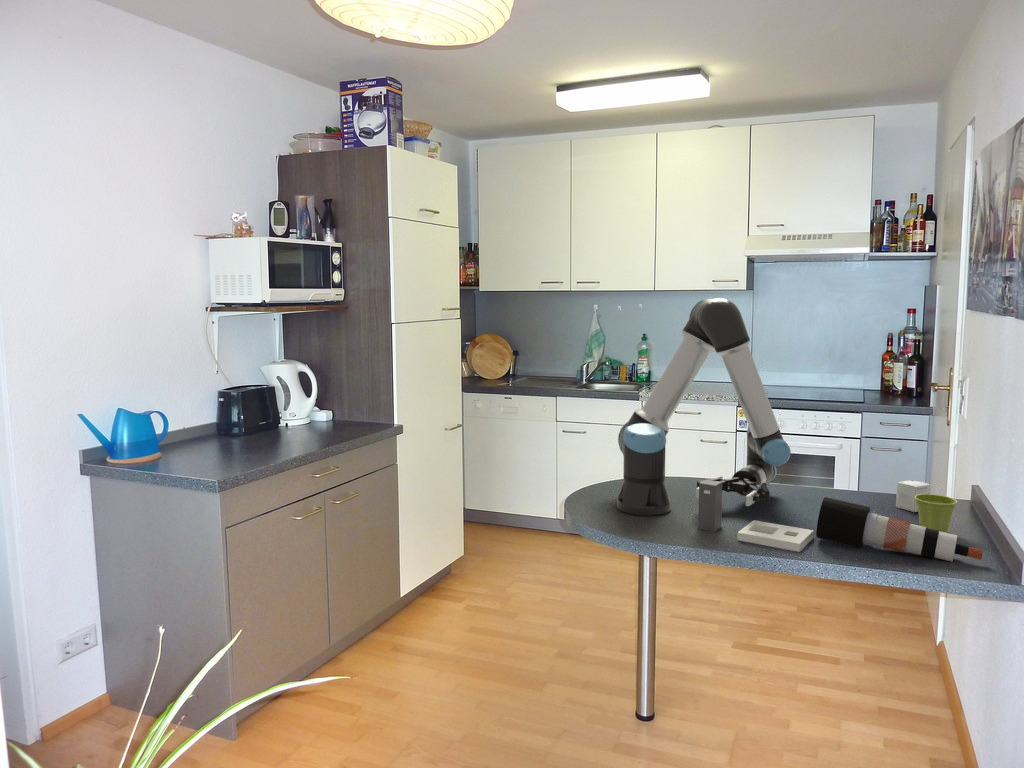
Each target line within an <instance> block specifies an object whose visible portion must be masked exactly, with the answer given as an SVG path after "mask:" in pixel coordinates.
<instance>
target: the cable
mask: <svg viewBox="0 0 1024 768" xmlns="http://www.w3.org/2000/svg"><path fill="white" fill-rule="evenodd" d="M820 505H821V506H820V508H819V513H818V519H817V524H816V533H815V534H816V538H817V539H821V540H825V541H830V542H833V543H837V544H840V545H844V546H845V545H846V546H849V547H854V548H858V549H861V548H862V549H863V547H864V545H868V546H874V547H875V546H876V547H880V548H883V549H888V550H893V551H897V552H900V553H901V552H902V553H910V554H913V555H918V556H925V557H929V558H933V559H940V560H943V561H948V562H953V561H954V557H955V555H958V556H962V557H969V558H972V559H976V560H980V561H981V560H982V559H983V553H984V549H980V548H976V547H974V548H973V547H971V546H970V547H969V546H968V545H964V544H960V543H957V539H958V535H957V534H952V533H949V532H947V533H944V532H940V531H938V530H933V529H929V528H926V527H923V526H920V525H918V524H914V523H911V522H909V521H905V520H901V519H900V520H899V519H896V518H892V517H889V516H883V515H880V514H878V513H874V512H871V506H867V505H862V504H858V503H853V502H849V501H845V500H841V499H836V498H831V497H827V496H825V497H823V500H822V502H821V504H820Z"/></svg>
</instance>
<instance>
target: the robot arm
mask: <svg viewBox="0 0 1024 768" xmlns="http://www.w3.org/2000/svg"><path fill="white" fill-rule="evenodd" d="M681 333H682V336H683V337H682V338H683V339H682V340H681V343H679V346H678V348H677V350H676V351H675V353H674V354H673V356H672V357H671V359H670V361H669V363H668V364H667V366H666V367H665V369H664V371H663V373H662V375H661V376H660V378H659V379H658V381H657V383H656V384H655V386H654V387H653V390H652V391H651V393H650V395H649V397H648V398H647V399H646V401H645V403H644V405H643V406H642V408H640V409H636V410H634V412H633V413H632V415H631V417H630V418H629V420H628V421H627V422H626V423H624V424H623V426H621V428H620V431H619V433H618V438H617V439H618V441H617V442H618V447H619V450H620V451H621V453H622V455H623V480H622V481H623V482H622V484H621V488H620V489H619V493H618V497H617V500H616V508H617V510H619V512H623V513H625V514H629V515H636V516H645V517H647V516H660V515H664V514H667V513H669V512H671V511H672V501H671V498H670V494H669V492H668V491H669V490H668V487H667V485H666V445H667V435H668V433H669V431H670V428H669V425H668V423H669V422H670V420H671V418H672V417H673V414H674V413H675V411H676V409H677V408H678V406H679V404H680V403H681V401H682V399H683V398H684V396H685V394H686V392H687V391H688V389H689V388H690V387H691V385H692V383H693V381H694V379H695V378H696V376H697V374H698V373H699V371H701V367H702V366H703V364H704V363H705V361H706V360H707V358H708V356H709V355H710V354H711V353H714V352H715V353H716V354H718V355H720V356H721V358H722V361H723V363H724V366H725V368H726V370H727V374H728V376H729V379H730V381H731V384H732V386H733V389H734V392H735V395H736V397H737V399H738V402H739V405H740V407H741V410H742V413H743V414H744V417H745V420H746V423H747V429H746V466H744V467H743V468H741V469H739V470H738V471H736V472H735V473H734V474H733V476H732V477H731V478H725V479H724V477H723V476H719V477H715V478H710V479H707V480H712V481H719V482H722V492H723V491H725V492H726V493H730V492H734V493H737V494H738V495H740V496H743V497H745V507H750V506H751V505H753V504H755V502H759V501H763V500H764V501H765V502H770V498H771V497H770V494H771V492H770V490H769V488H768V487H767V486H768V485H769V484H771V483H772V482H773V480H775V478H776V476H777V473H778V472H777V467H780V466H782V465H785V464H786V463H787V462H788V461H789V459H790V458H791V448H790V447H791V446H789V445H788V443H787V441H785V440H784V437H783V435H782V432H781V429H780V427H779V423H778V422H777V418H776V417H775V413H774V411H773V408H772V405H771V402H770V400H769V398H768V395H767V392H766V389H765V387H764V385H763V382H762V379H761V376H760V374H759V372H758V368H757V366H756V364H755V360H754V358H753V355H752V353H751V350H750V347H749V344H750V342H751V339H750V336H749V333H748V330H747V328H746V324H745V321H744V318H743V316H742V313H741V311H740V310H739V307H737V305H736V304H735V303H734V302H732V301H731V300H729V299H727V298H719V297H708V298H707V297H706V298H704V299H701V300H700V301H699V302H696V304H694V306H693V307H692V309H691V311H690V313H689V317H688V320H687V322H686V324H685V326H683V329H682V331H681ZM704 480H705V479H703V480H698V481H696V489H695V493H696V494H695V499H698V500H699V483H700V482H702V481H704Z"/></svg>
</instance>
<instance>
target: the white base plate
mask: <svg viewBox="0 0 1024 768" xmlns="http://www.w3.org/2000/svg"><path fill="white" fill-rule="evenodd" d="M814 531H815V530H812V529H808V528H801V527H797V526H796V527H795V526H790V525H783V524H778V523H772V522H767V521H761V520H755V519H754V520H752V521H751V522H750V523H748V524H747V525H745V526H744V527H743V528H741V529H740V530H739V531H738V532H737V535H736V536H737V537H736V538H737V541H740V542H745V543H751V544H756V545H762V546H766V547H772V548H775V549H783V550H787V551H792V552H798V553H800V552H801V551H802V550H803V549H804V548H805V547H806V546H807V545H809V543H810V542H811V541H813V539H814V537H815V532H814Z"/></svg>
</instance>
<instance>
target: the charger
mask: <svg viewBox="0 0 1024 768" xmlns="http://www.w3.org/2000/svg"><path fill="white" fill-rule="evenodd" d="M703 480H704V481H702V480H701V481H702V482H700V483H699V499H698V515H697V516H698V519H697V520H698V522H697V524H698V525H697V526H698V529H702V530H706V531H712V532H716V531H717V530H719V529H720V528H722V517H723V515H722V513H723V512H722V511H723V510H722V508H723V491H722V482H719V481H712V480H708V479H703Z"/></svg>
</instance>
